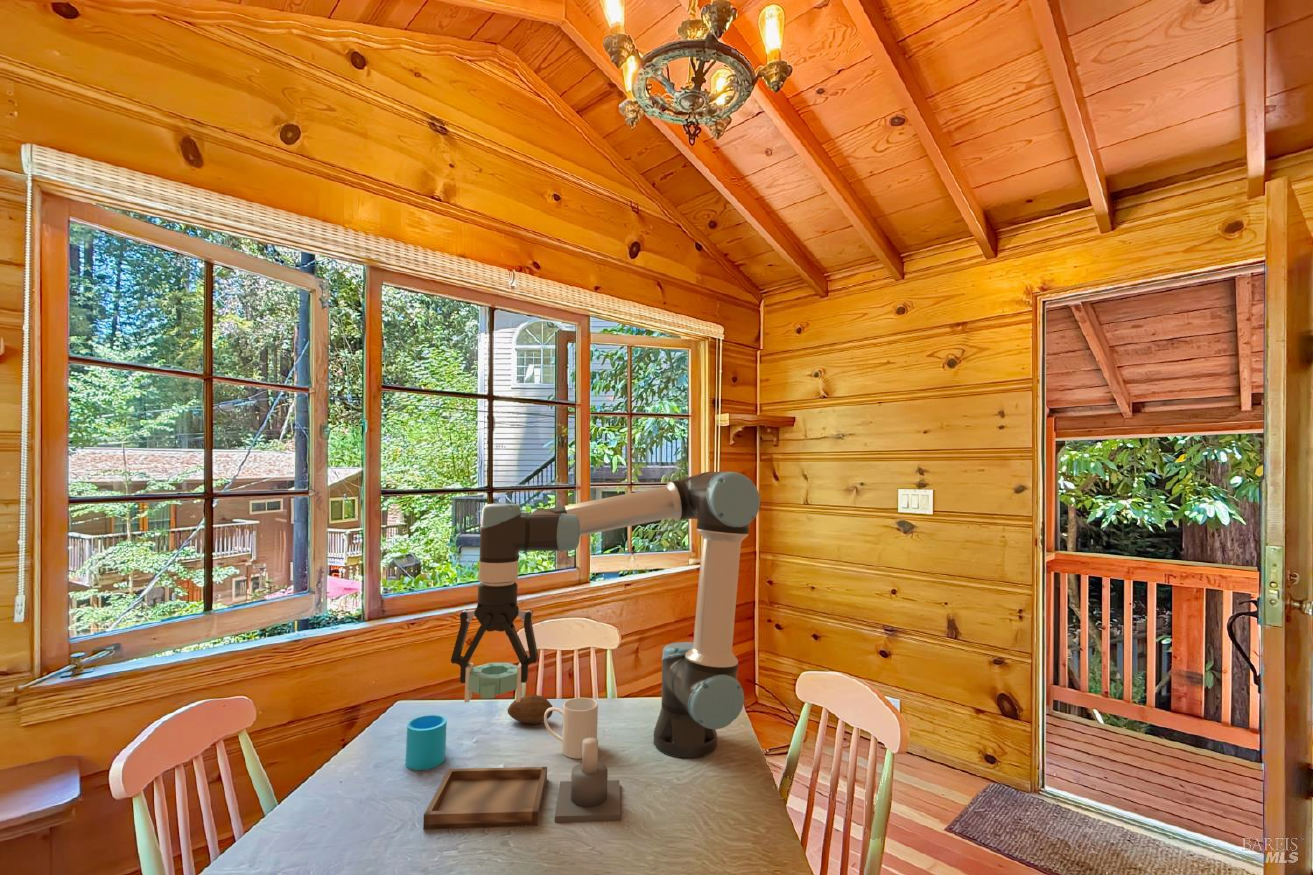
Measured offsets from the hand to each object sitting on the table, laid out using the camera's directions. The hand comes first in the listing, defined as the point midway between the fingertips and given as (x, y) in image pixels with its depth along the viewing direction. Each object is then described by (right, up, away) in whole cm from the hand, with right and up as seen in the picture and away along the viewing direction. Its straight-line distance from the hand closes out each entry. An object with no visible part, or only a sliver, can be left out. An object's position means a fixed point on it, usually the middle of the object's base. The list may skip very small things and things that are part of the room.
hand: (493, 699), depth 112 cm
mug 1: (-19, -20, +16) cm, 32 cm away
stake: (+19, -20, -1) cm, 27 cm away
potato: (0, -22, +35) cm, 41 cm away
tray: (0, -19, -1) cm, 19 cm away
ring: (0, +3, 0) cm, 3 cm away
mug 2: (+12, -21, +20) cm, 31 cm away
